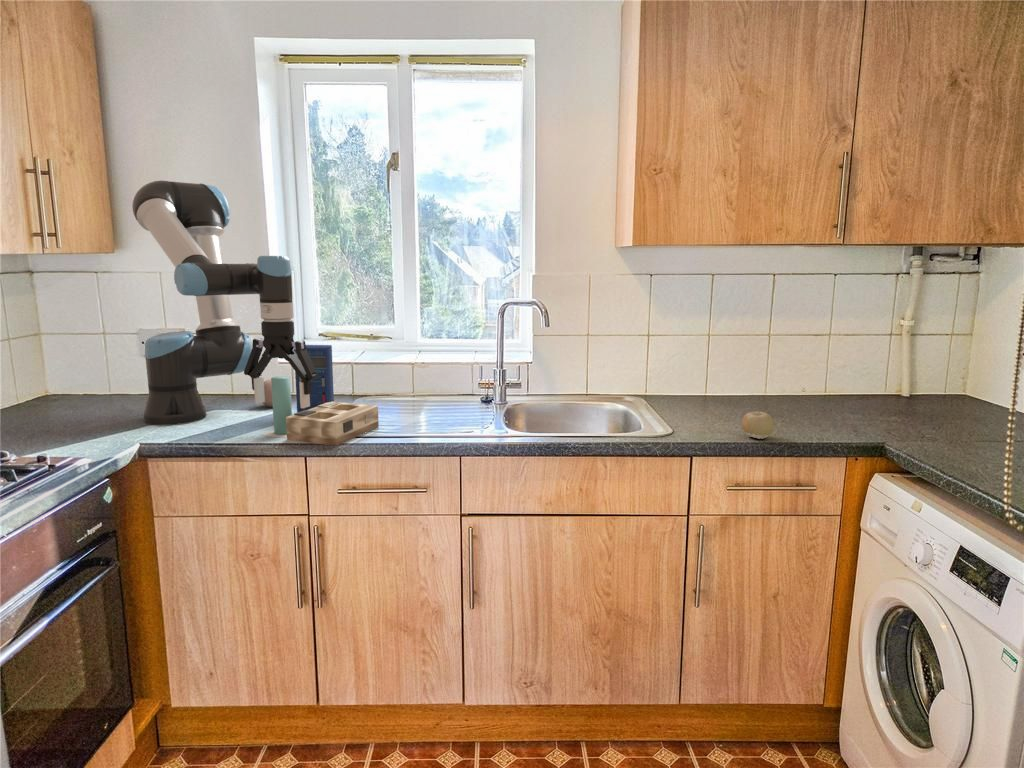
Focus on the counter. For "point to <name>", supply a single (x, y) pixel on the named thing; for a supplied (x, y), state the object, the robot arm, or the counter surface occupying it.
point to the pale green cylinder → (281, 403)
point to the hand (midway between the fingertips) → (282, 405)
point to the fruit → (757, 423)
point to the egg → (268, 393)
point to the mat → (271, 433)
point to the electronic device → (324, 382)
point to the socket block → (332, 423)
